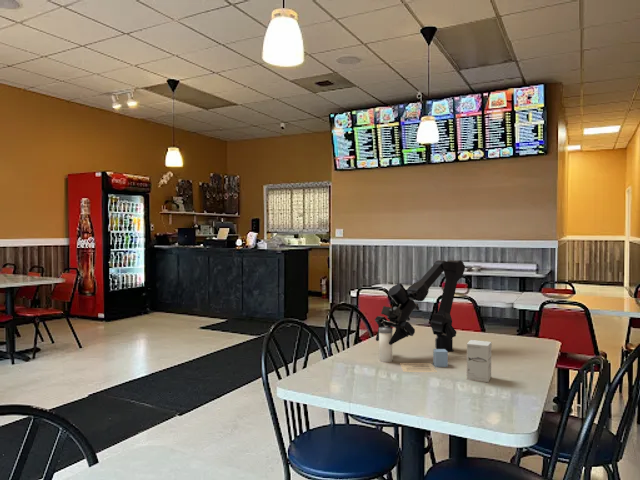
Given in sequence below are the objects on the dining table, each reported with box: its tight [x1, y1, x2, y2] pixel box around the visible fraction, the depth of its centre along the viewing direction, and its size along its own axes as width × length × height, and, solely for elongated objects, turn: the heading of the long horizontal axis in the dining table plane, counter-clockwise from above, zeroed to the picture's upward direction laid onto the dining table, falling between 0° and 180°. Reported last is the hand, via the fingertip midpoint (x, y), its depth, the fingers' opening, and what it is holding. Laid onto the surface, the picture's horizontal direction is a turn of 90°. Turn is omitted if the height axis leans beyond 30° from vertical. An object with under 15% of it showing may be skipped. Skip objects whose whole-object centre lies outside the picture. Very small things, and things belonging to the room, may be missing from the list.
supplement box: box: [466, 339, 493, 383], centre depth 169 cm, size 7×7×13 cm
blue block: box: [432, 348, 449, 368], centre depth 185 cm, size 4×4×6 cm
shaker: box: [378, 327, 394, 363], centre depth 193 cm, size 5×5×13 cm
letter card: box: [399, 362, 438, 373], centre depth 182 cm, size 12×12×1 cm
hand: (382, 342), depth 192 cm, fingers open, 8 cm apart
